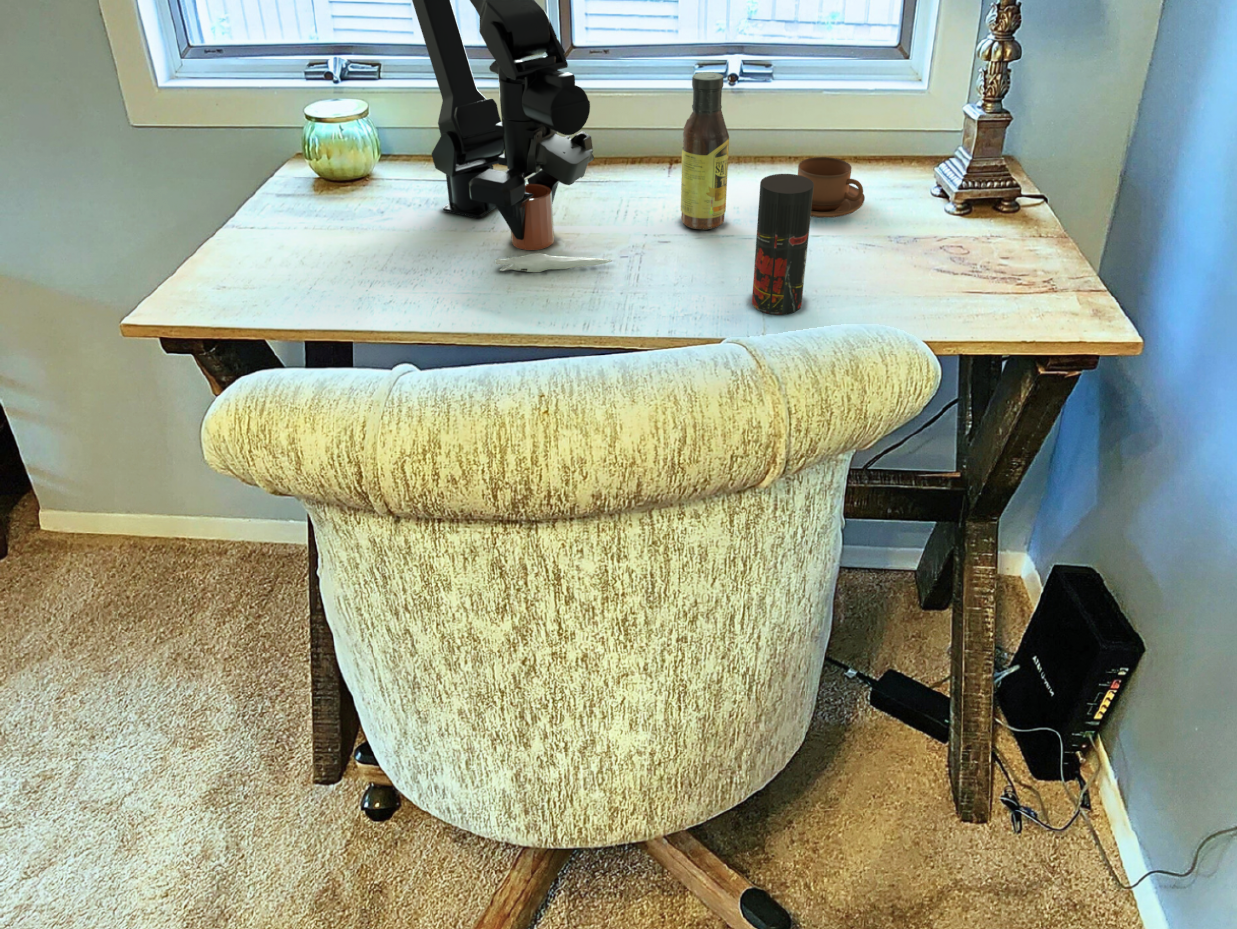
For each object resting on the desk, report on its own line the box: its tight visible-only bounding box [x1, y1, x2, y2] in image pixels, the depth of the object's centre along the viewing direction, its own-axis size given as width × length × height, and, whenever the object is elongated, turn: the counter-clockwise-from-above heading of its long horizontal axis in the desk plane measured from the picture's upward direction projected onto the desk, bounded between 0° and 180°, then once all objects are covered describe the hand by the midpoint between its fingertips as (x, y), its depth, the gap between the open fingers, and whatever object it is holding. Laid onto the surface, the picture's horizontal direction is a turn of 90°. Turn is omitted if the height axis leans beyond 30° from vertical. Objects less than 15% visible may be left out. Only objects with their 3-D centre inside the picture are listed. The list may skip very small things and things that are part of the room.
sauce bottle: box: [680, 71, 730, 230], centre depth 137 cm, size 7×6×20 cm
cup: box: [510, 183, 555, 251], centre depth 137 cm, size 6×6×7 cm
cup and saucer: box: [797, 156, 866, 219], centre depth 145 cm, size 12×12×6 cm
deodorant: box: [751, 173, 814, 316], centre depth 119 cm, size 6×6×15 cm
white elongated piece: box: [494, 252, 613, 273], centre depth 131 cm, size 15×3×2 cm, turn 92°
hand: (532, 230), depth 138 cm, fingers closed on cup, 6 cm apart
